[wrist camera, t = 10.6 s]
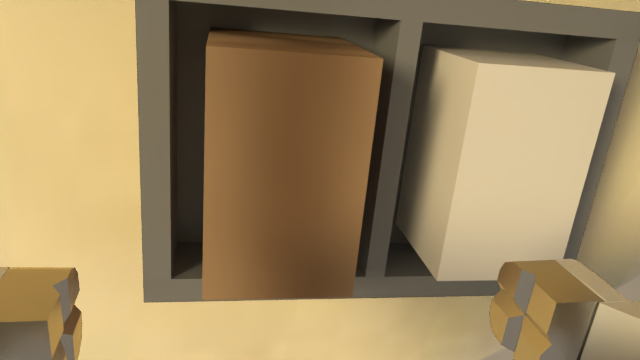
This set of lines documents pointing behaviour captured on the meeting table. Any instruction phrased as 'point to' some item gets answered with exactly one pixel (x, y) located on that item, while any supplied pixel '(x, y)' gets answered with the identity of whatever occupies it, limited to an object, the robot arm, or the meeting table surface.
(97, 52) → the meeting table surface
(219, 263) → the walnut block
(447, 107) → the off-white block
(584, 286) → the robot arm
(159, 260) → the holder
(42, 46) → the meeting table surface
